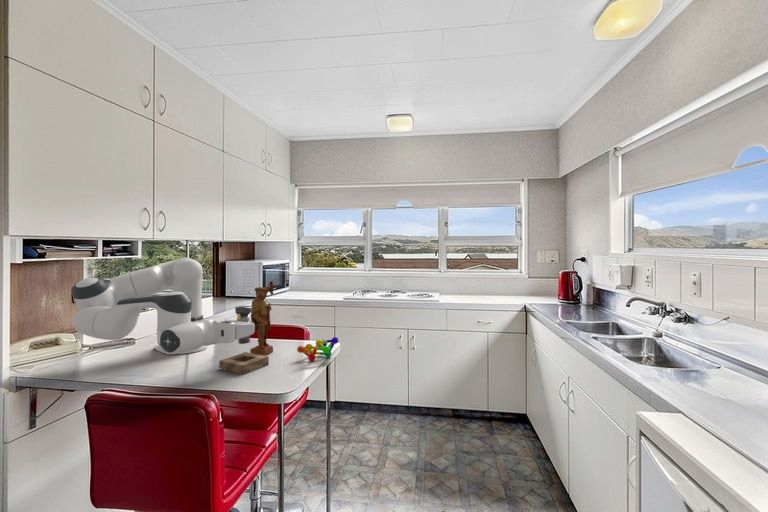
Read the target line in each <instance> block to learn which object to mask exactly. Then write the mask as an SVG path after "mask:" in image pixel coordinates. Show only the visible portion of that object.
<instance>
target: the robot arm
mask: <svg viewBox="0 0 768 512" xmlns="http://www.w3.org/2000/svg"><path fill="white" fill-rule="evenodd" d="M203 269H204V268H203V267H202V265H201V263H200V262H199V261H198V260H196V259H194V258H190V257H186V256H185V257H180V258H176V259H173V260H169V261H166V262H163V263H159V264H156V265H152V266H149V267H146V268H141V269H138V270H133V271H131V272H127V273H123V274H120V275H117V276H114V277H112V278H110V279H105V278H104V277H98V276H91V277H85V278H83V279H80V280H78V281H77V282H76V283H74V285H72V287H71V294H72V298H73V299H74V301H75V305H76V308H77V310H78V312H77V313H76V314H75V316H74V317H73V321H72V323H73V327H74V329H75V330H76V331H77V332H78V333H80V334H82V335H84V336H87V337H89V338H90V337H91V338H93V339H100V340H107V341H116V340H121V339H124V338H125V337H127V336H128V335H130V333H132V331H134V330H135V327H136V326H137V323H138V319H139V317H140V314H141V312H142V310H143V309H150V308H153V309H154V308H155V309H156V312H157V315H156V316H157V322H156V323H157V324H156V341H157V345H155V346H153V349H154V350H155V349H156V351H157V350H158V351H157V352H159V353H162V354H164V353H165V354H164V355H166V354H167V355H166V356H169V354H170V355H171V354H172V355H179V354H180V355H181V354H191V353H197V352H200V351H203V350H205V349H208V347H209V346H213V345H218V344H231V343H234V342H236V341H235V340H238V339H240V338H244V337H247V336H249V335H250V336H252V335H253V334H254V333H255V331H254V330H255V328H254V323H252V321H251V320H250V321H247V322H242V321H237V319H226V318H221V317H218V316H211V317H207V318H204V315H203V308H202V307H203V301H202V296H203V295H202V294H203V279H204V278H203V277H204V275H203V272H204V271H203ZM170 289H172V291H171V292H166V293H163V294H159V293H162V292H165V291H167V290H170ZM172 355H171V356H172Z"/></svg>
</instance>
